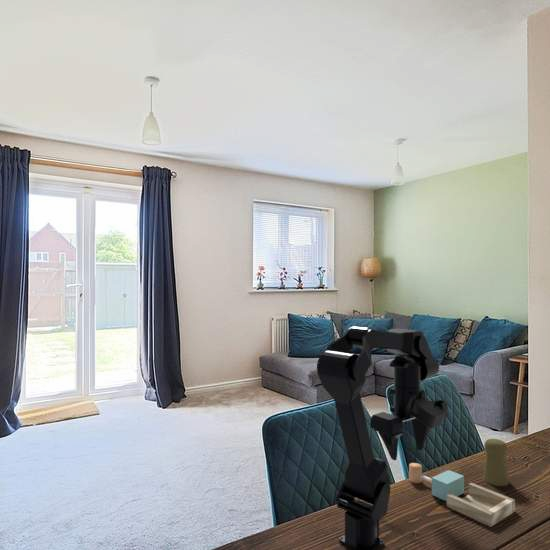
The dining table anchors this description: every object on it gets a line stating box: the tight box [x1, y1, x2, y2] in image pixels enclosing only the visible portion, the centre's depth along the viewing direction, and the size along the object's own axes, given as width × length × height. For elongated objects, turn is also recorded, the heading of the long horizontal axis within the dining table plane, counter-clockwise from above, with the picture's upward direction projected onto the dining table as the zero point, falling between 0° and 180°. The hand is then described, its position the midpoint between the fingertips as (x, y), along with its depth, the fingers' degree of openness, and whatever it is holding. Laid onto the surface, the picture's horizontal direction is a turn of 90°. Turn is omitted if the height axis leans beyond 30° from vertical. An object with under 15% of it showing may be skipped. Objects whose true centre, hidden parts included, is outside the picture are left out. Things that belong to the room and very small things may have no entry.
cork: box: [482, 438, 510, 487], centre depth 113 cm, size 6×6×11 cm
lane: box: [446, 482, 516, 528], centre depth 99 cm, size 10×10×4 cm
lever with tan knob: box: [408, 462, 465, 502], centre depth 109 cm, size 7×12×5 cm, turn 36°
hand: (407, 454), depth 101 cm, fingers open, 9 cm apart
